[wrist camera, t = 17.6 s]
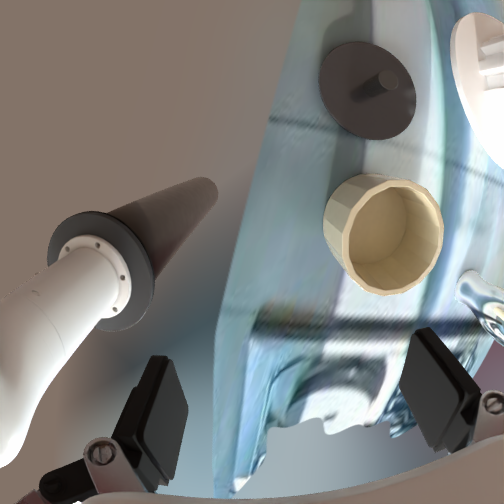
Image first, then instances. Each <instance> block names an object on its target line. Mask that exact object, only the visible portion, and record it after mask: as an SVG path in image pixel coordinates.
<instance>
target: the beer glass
mask: <svg viewBox="0 0 504 504" xmlns="http://www.w3.org/2000/svg"><path fill="white" fill-rule="evenodd" d="M454 296H455V299H456V300H457V302H459V303H461V304H463V305H465V306H467V307H468V308H469V309H470V310H471V311H472V312H473V313H474V315H475V316H476V318H477V319H478V321H479V322H480V323H481V325H482V326H483V328H484V329H485V330H486V331H487V333H488V334H489V335H490V336H491V337H492V338H493V339H495V340H496V341H497V342H498V343H499V344H501V345H502V346H503V347H504V289H503V288H501V287H498V286H496V285H493V284H491V283H488V282H487V281H485V280H484V279H483V278H482V277H481V276H480V275H479V274H478V273H477V272H476V271H474V270H468V271H466V272H465V273H464V274H463V275H462V276H461V277H460V278H459V280H458V281H457V284H456V286H455V291H454Z"/></svg>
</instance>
